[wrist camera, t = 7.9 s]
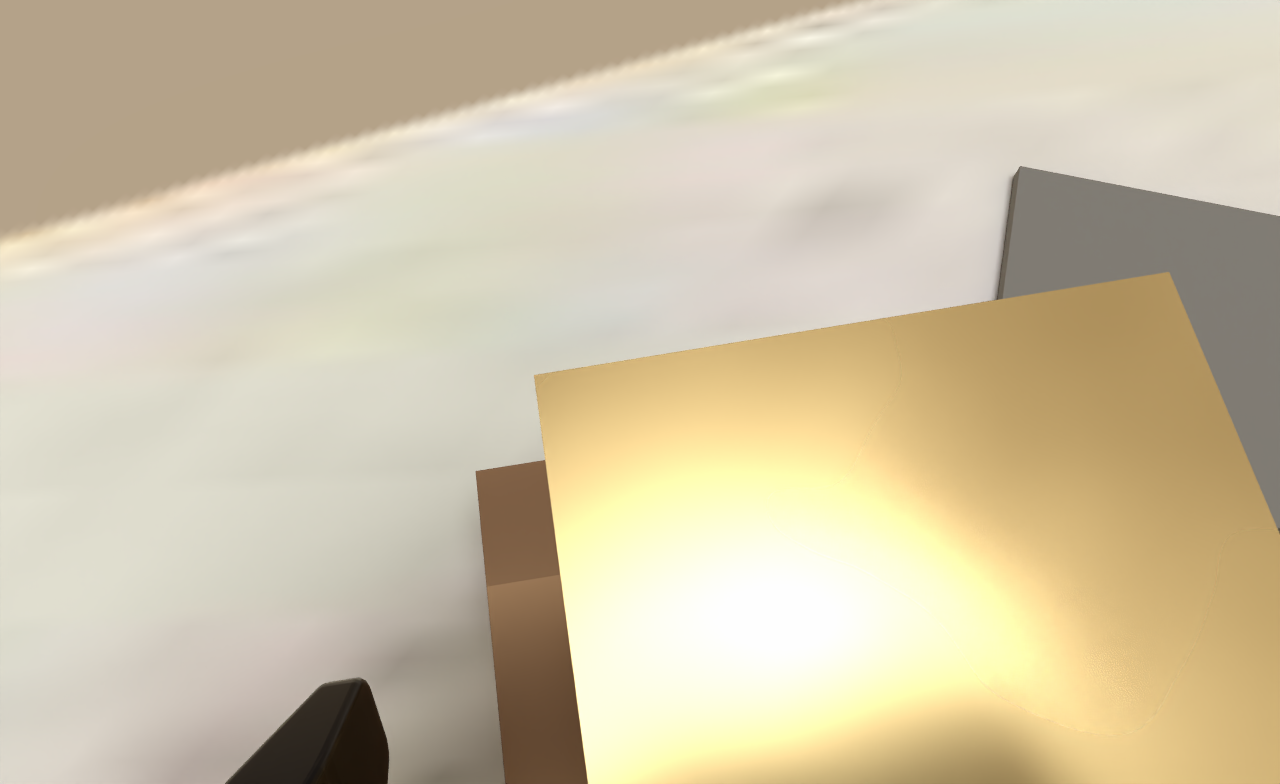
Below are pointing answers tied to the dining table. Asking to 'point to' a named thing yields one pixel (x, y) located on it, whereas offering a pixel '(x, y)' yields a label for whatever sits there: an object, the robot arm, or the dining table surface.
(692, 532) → the pin
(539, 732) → the socket block
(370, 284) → the dining table surface
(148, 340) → the dining table surface
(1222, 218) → the mat
